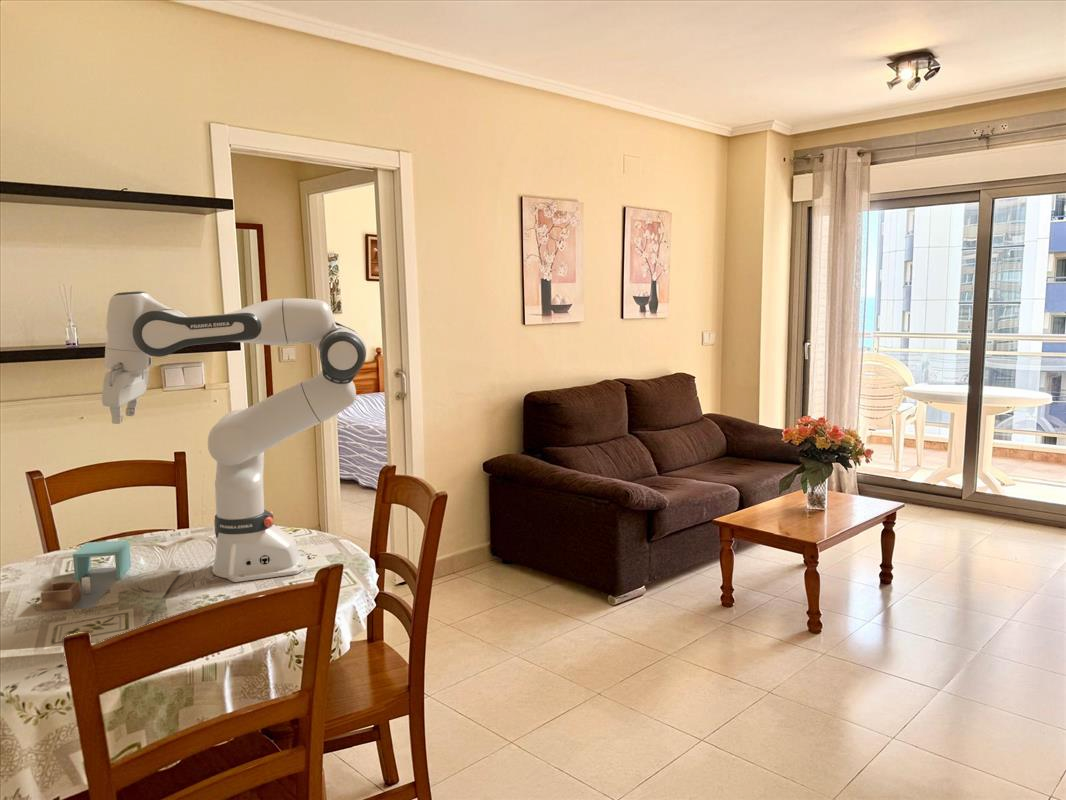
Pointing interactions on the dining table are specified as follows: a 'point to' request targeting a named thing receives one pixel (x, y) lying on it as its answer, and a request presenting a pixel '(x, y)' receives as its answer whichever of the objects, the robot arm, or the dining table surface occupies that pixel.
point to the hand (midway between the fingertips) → (123, 419)
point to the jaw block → (60, 595)
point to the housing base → (94, 586)
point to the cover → (102, 549)
